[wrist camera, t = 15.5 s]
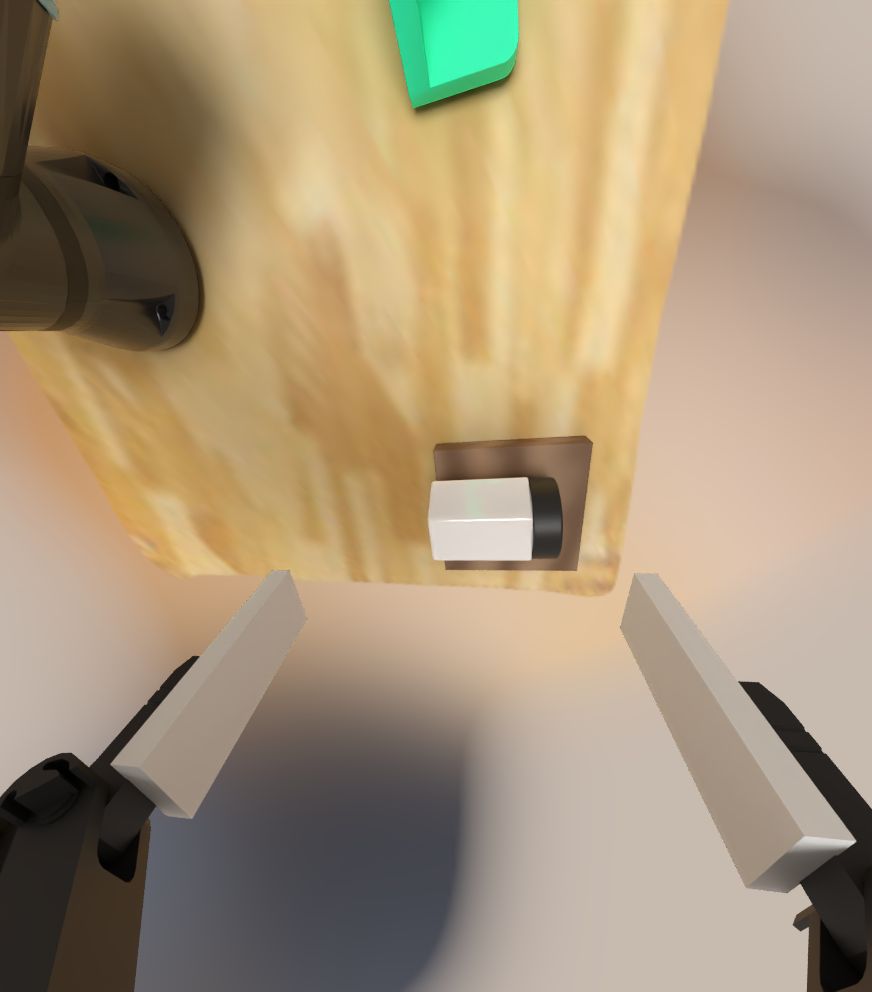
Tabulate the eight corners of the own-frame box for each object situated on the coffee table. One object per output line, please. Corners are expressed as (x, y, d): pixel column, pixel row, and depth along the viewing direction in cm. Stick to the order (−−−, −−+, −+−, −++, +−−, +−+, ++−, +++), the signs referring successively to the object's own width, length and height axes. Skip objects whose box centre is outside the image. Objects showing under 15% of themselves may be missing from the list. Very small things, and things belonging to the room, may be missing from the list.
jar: (438, 575, 34) (554, 576, 32) (424, 542, 28) (569, 540, 26) (443, 505, 39) (544, 502, 37) (432, 463, 33) (554, 456, 31)
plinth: (447, 557, 43) (445, 569, 41) (436, 443, 36) (433, 450, 34) (571, 557, 41) (576, 570, 39) (585, 435, 34) (592, 442, 32)
